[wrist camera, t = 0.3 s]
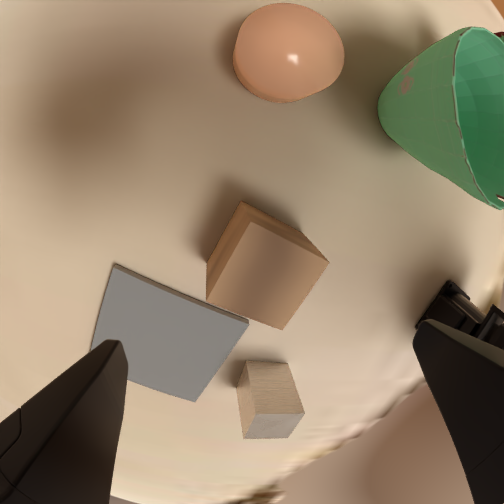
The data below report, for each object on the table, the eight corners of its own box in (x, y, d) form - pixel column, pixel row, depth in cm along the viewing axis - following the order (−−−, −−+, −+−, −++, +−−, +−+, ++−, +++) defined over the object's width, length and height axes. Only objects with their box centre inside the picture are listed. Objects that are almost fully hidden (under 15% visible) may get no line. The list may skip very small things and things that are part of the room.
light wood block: (287, 363, 24) (304, 413, 19) (275, 390, 26) (288, 437, 20) (246, 360, 24) (255, 413, 18) (236, 388, 25) (243, 438, 19)
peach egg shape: (336, 54, 15) (359, 41, 12) (296, 119, 17) (314, 115, 13) (261, 10, 13) (271, -12, 10) (215, 75, 15) (215, 60, 12)
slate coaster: (248, 320, 22) (249, 324, 21) (195, 397, 25) (195, 402, 24) (115, 263, 18) (113, 267, 18) (89, 358, 21) (88, 362, 21)
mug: (405, 200, 20) (501, 245, 10) (321, 111, 16) (420, 96, 7) (473, 90, 16) (554, 96, 7) (411, 8, 13) (492, -21, 4)
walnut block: (302, 233, 20) (329, 262, 15) (267, 289, 21) (282, 330, 16) (240, 200, 18) (250, 221, 14) (206, 263, 20) (206, 301, 15)
